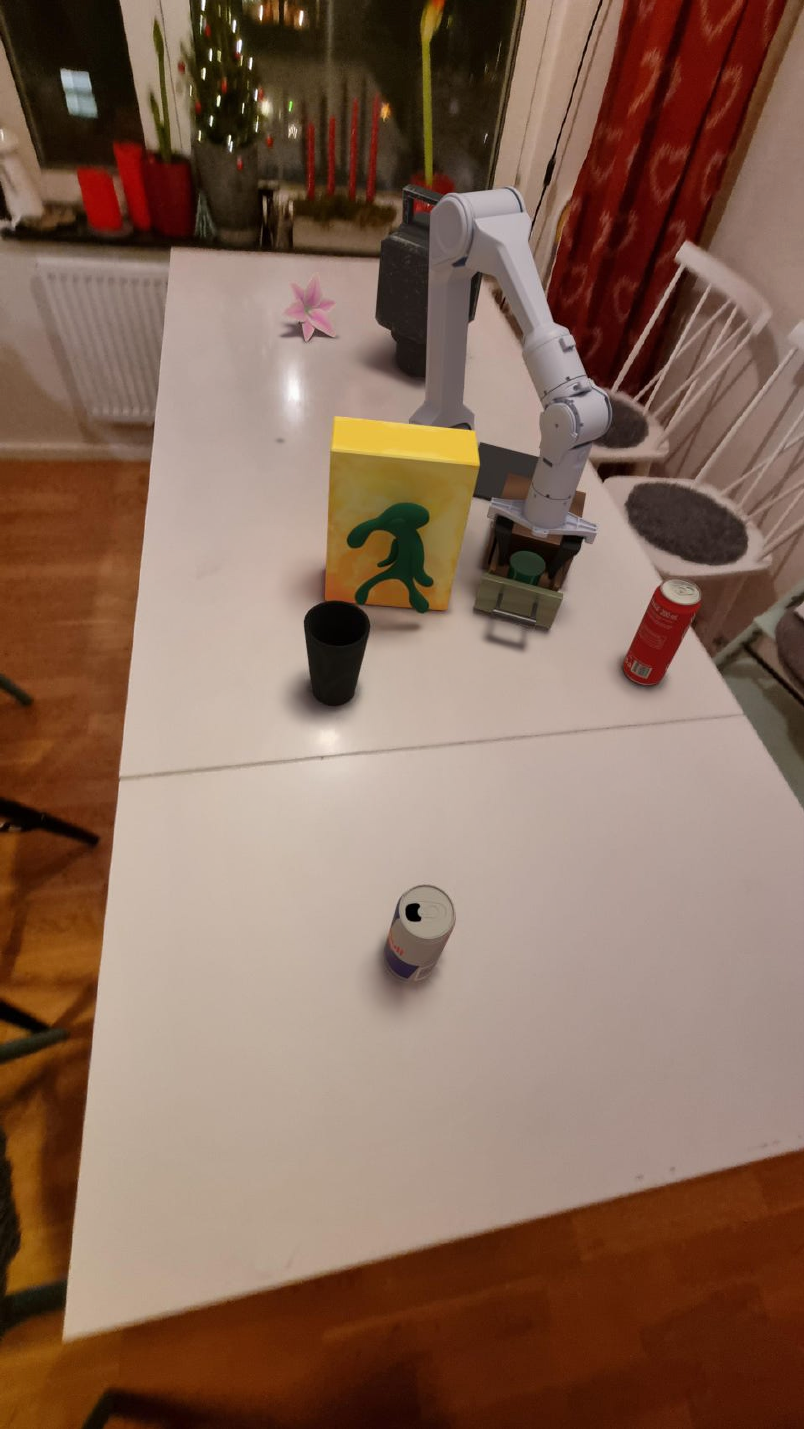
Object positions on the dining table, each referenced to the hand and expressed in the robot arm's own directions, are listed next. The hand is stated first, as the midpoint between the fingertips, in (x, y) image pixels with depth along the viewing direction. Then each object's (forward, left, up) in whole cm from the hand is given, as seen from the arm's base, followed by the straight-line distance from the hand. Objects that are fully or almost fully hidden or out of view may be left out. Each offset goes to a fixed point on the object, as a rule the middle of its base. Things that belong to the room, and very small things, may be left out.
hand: (526, 568), depth 99 cm
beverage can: (+19, -8, -6) cm, 21 cm away
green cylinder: (0, 0, -4) cm, 4 cm away
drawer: (0, -1, -5) cm, 5 cm away
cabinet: (0, +12, -6) cm, 13 cm away
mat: (-5, +30, -6) cm, 31 cm away
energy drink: (-2, -56, -6) cm, 56 cm away
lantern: (-30, +61, -6) cm, 68 cm away
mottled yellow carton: (-18, -8, -6) cm, 21 cm away
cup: (-20, -26, -6) cm, 33 cm away
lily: (-55, +64, -6) cm, 84 cm away
